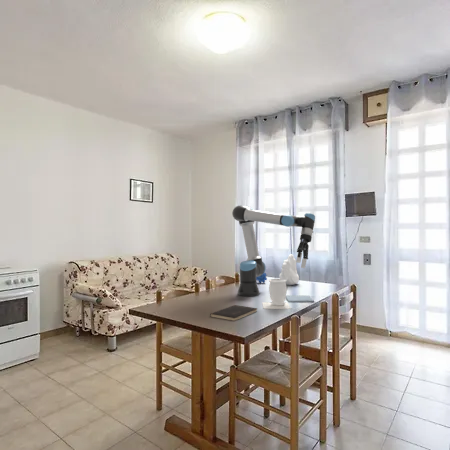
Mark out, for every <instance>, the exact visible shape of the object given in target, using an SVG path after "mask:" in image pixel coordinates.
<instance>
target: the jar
mask: <svg viewBox="0 0 450 450" xmlns="http://www.w3.org/2000/svg"><path fill="white" fill-rule="evenodd" d="M268 281H269V287H268V292H269V299H270V300H271V304H272V305H276V306H281V305H285V301H286V300H287V299H286V295H287V285H286V280H285V279H280V278H270V279H269V280H268Z"/></svg>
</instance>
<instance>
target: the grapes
mask: <svg viewBox="0 0 450 450" xmlns="http://www.w3.org/2000/svg"><path fill="white" fill-rule="evenodd" d="M267 280H268V277H267V273H266V272H264V274H263V275H261V276H259V277H256V282H258V283H259V284H261V283H263V284H264V283H265V282H266V281H267Z"/></svg>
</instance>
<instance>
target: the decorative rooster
mask: <svg viewBox="0 0 450 450" xmlns="http://www.w3.org/2000/svg"><path fill="white" fill-rule="evenodd" d="M296 260H297V258H295V255H294V254H292V253H290V254H289V255H288V256H287V259H283V263H282V264H281V271H280V273H279V275H278V276H279V279H285V280H286V286H287V285H288V286H292V285H296V284H299V282H300V276H299V274H298V270H297V262H296Z"/></svg>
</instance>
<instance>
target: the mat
mask: <svg viewBox="0 0 450 450" xmlns="http://www.w3.org/2000/svg"><path fill="white" fill-rule="evenodd" d="M285 300H286V301H287V302H288V303H314V302H315V301H314V299H313V297H311V296H310V295H307V294H306V295H291V294H290V295H288V294H286V299H285Z"/></svg>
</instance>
